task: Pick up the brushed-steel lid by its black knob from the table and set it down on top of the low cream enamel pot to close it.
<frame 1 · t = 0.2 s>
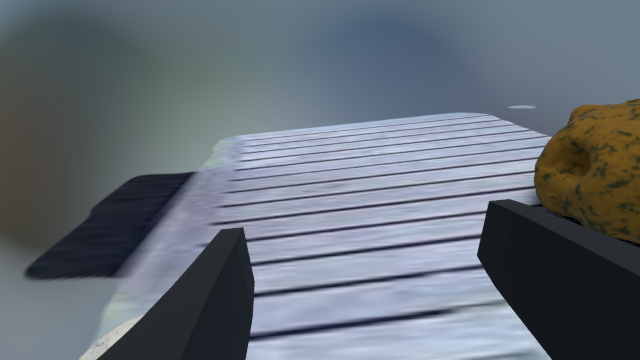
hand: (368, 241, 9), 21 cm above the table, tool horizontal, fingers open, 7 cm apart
decorative pumpkin: (609, 220, 43), on the table
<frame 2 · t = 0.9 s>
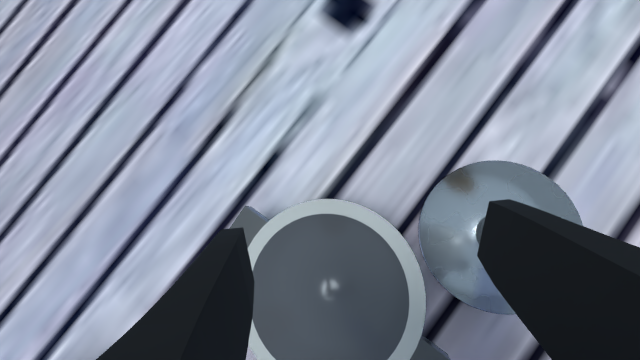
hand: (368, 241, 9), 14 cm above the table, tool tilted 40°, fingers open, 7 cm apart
lid: (492, 234, 21), on the table
pot: (336, 280, 22), on the table
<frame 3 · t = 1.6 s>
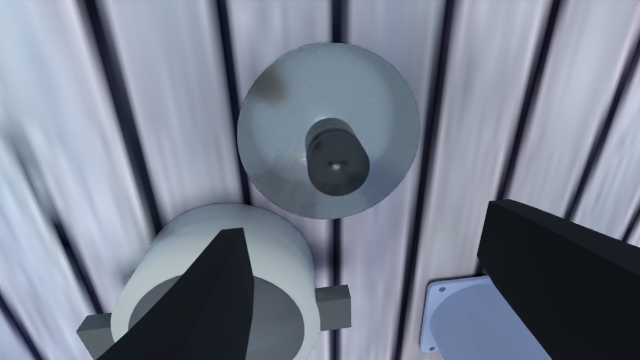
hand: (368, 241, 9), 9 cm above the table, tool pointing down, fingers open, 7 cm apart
lid: (328, 137, 18), on the table
pot: (234, 271, 21), on the table
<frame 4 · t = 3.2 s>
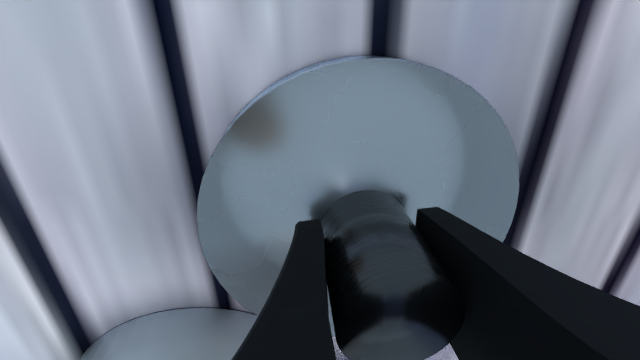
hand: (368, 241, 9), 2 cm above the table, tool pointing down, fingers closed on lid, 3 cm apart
lid: (356, 212, 10), on the table, touching gripper
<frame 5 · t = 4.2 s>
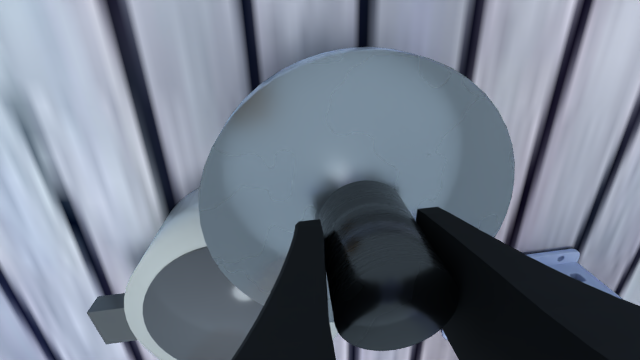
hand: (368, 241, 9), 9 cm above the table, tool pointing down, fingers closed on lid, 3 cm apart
lid: (355, 202, 11), point 7 cm above the table, touching gripper
pot: (250, 252, 20), on the table
when the fingers open (8 cm above the table, at t = 5.3 s): lid stays where it is, resting on pot.
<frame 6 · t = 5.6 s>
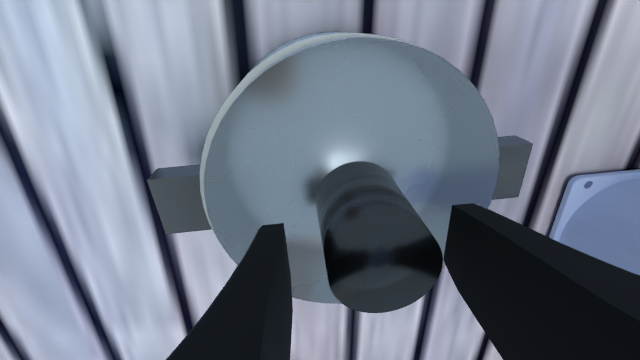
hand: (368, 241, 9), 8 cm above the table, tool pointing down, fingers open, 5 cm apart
lid: (350, 185, 11), point 5 cm above the table, touching pot
pot: (332, 148, 16), on the table
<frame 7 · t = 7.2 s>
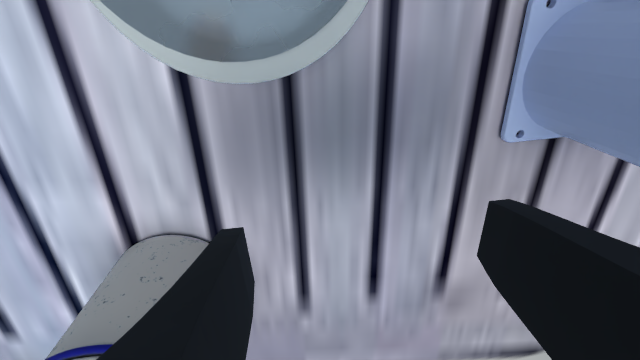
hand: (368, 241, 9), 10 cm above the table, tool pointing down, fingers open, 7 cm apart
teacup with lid: (190, 291, 23), on the table
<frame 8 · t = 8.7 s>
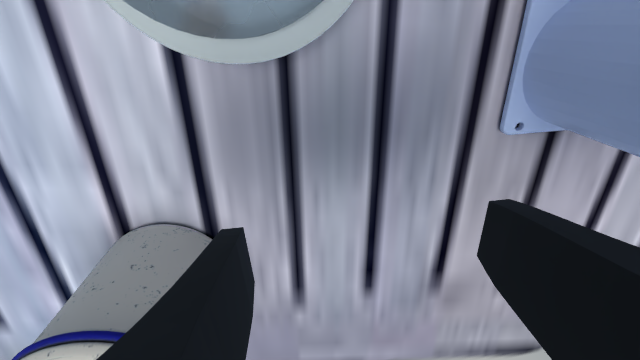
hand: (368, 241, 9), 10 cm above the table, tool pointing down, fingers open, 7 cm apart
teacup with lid: (183, 282, 23), on the table
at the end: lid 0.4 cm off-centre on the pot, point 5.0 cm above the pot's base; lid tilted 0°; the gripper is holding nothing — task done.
